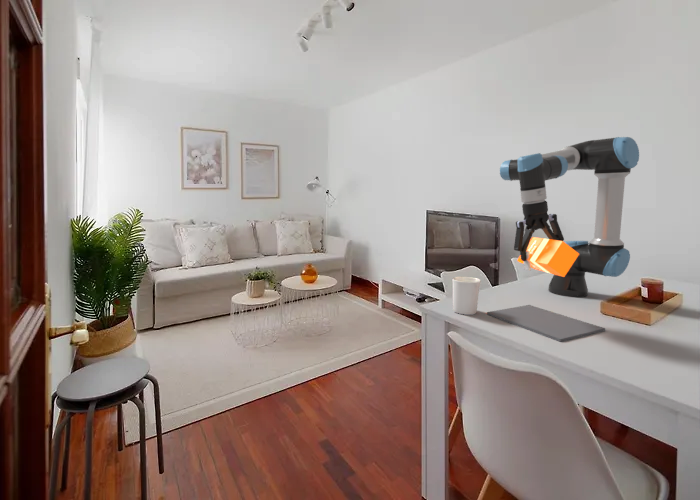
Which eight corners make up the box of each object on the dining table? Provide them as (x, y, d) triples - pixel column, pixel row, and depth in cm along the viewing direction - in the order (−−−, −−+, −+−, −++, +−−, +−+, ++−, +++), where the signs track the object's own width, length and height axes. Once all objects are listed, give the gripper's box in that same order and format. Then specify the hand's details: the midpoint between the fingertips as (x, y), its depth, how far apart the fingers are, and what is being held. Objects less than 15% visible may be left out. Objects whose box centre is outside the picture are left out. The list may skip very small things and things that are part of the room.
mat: (529, 306, 145) (529, 304, 145) (604, 330, 121) (605, 328, 121) (487, 314, 136) (487, 312, 136) (560, 341, 111) (560, 339, 111)
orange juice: (564, 277, 119) (524, 266, 138) (579, 253, 119) (537, 246, 138) (546, 264, 117) (509, 255, 137) (562, 240, 117) (522, 235, 137)
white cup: (445, 309, 141) (446, 277, 140) (466, 306, 145) (468, 275, 143) (462, 316, 132) (464, 283, 131) (484, 313, 136) (486, 281, 134)
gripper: (510, 208, 120) (518, 275, 124) (572, 195, 124) (578, 260, 127) (497, 208, 128) (505, 271, 131) (556, 195, 131) (562, 257, 135)
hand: (541, 266), depth 129 cm, fingers closed on orange juice, 10 cm apart
